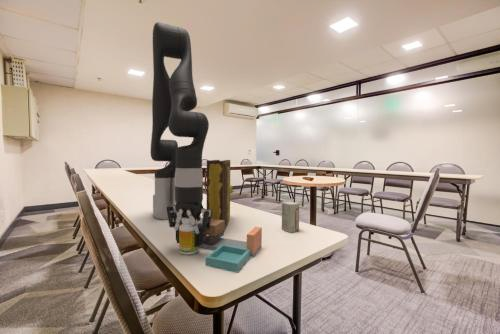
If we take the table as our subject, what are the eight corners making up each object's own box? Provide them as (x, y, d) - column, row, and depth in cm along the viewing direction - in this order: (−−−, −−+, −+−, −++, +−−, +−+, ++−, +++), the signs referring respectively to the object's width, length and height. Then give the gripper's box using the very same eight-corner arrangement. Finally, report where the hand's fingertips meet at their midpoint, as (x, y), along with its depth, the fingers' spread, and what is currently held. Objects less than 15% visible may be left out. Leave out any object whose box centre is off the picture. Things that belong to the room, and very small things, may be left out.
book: (226, 234, 76) (227, 161, 75) (202, 233, 76) (202, 160, 75) (233, 216, 98) (233, 160, 97) (213, 216, 98) (214, 159, 97)
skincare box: (299, 231, 80) (300, 203, 80) (290, 233, 78) (290, 204, 78) (290, 227, 85) (290, 200, 84) (280, 228, 83) (281, 202, 82)
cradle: (205, 265, 55) (205, 257, 54) (222, 251, 63) (222, 244, 62) (237, 272, 52) (237, 263, 51) (250, 256, 60) (250, 249, 59)
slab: (191, 240, 67) (191, 222, 67) (203, 233, 73) (203, 217, 72) (214, 244, 64) (214, 226, 64) (224, 237, 70) (225, 220, 70)
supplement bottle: (193, 255, 59) (194, 220, 59) (175, 254, 60) (175, 218, 60) (201, 247, 65) (201, 214, 64) (184, 246, 66) (184, 213, 65)
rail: (187, 244, 67) (187, 225, 67) (200, 236, 73) (200, 219, 73) (253, 256, 59) (253, 235, 59) (261, 246, 66) (261, 227, 66)
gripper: (158, 184, 61) (159, 245, 62) (203, 187, 56) (203, 254, 56) (176, 181, 68) (177, 236, 69) (218, 184, 63) (218, 243, 63)
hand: (189, 243), depth 63 cm, fingers closed on supplement bottle, 5 cm apart
